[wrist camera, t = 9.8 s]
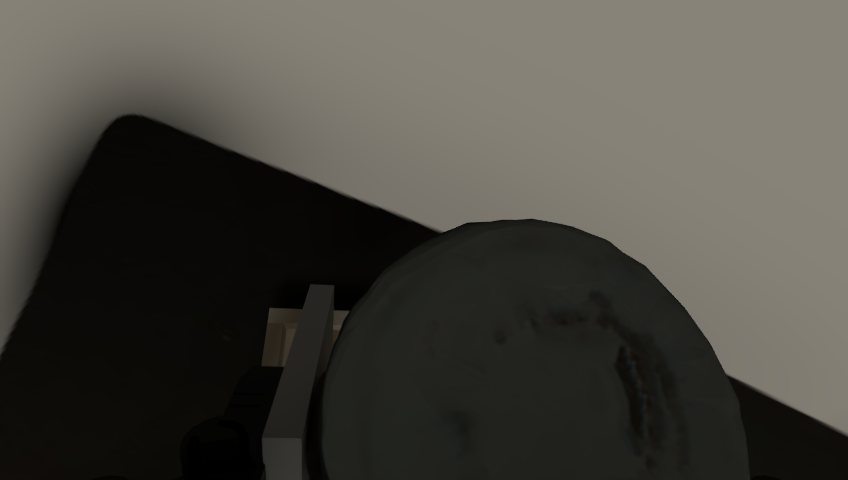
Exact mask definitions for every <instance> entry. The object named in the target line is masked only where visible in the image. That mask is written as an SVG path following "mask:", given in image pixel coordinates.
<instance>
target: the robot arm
mask: <svg viewBox="0 0 848 480" xmlns="http://www.w3.org/2000/svg"><path fill="white" fill-rule="evenodd" d="M333 320H334V285H313V284H310V288H309V291H308V294H307V297H306V300H305V303H304V306H303V310H302V313H301V316H300V319H299V322H298V325H297V328H296V332H295V335H294V338H293V341H292V344H291V347H290V351H289V354H288V357H287V360H286V363H285V366H284V367H278V366H253V367H252V368H251V369H249V370H248V371H247V372H246V373H245V374H244V375H243V376H242V377H241V378H240V379H239V381H238V384H237V386H236V388H235V390H234V394H233V395H232V397H231V399H230V402H229V404H228V407H227V408H226V411H225V413H224V415H223V416H218V417H215V418H211V419H208V420H205V421H203V422H201V423H200V424H198V425H196V426H195V427H193V428H192V429H191V430H190V431H189V432H188V433H187V434H186V435H185V436H184V437H183V440H182V442H181V445H180V456H181V464H182V472H183V476H181V477H179V478H177V479H175V480H309V474H308V470H307V439H308V431H309V423H310V419H311V414H312V409H313V404H314V399H315V394H316V389H317V384H318V381H319V379H320V377H321V376H322V374H323V373H324V372H325V371H326V368H327V365H328V361H329V358H330V354H331V351H332V348H333ZM92 480H128V479H127V478H125V477H121V476H105V477H100V478H95V479H92ZM751 480H780V479H778V478H774V477H769V476H764V475H763V476H755V477H753V478H752V479H751Z"/></svg>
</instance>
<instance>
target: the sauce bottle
mask: <svg viewBox="0 0 848 480" xmlns="http://www.w3.org/2000/svg"><path fill="white" fill-rule="evenodd" d="M307 470H308V474H309V480H750V475H749V463H748V451H747V439H746V431H745V428H744V426H743V423H742V420H741V416H740V406H739V401H738V399H737V396H736V394H735V392H734V390H733V388H732V386H731V383H730V381H729V379H728V377H727V375H726V374H725V372H724V370H723V368H722V366H721V364H720V362H719V360H718V358H717V356H716V354H715V352H714V350H713V348H712V346H711V344H710V343H709V341H708V340H707V338H706V337H705V336H704V335H703V333H702V331H701V330H700V329H699V328H698V326H697V324H696V323H695V322H694V320H693V319H692V317H691V316H690V315H689V313H688V312H687V310H686V309H685V308H684V307H683V306H682V305H681V303H680V302H679V301H678V300H677V299H676V298H675V297H674V296H673V295H672V294H671V293H670V292H669V291H668V290H667V289H666V288H665V287H664V286H663V284H662V283H661V282H660V281H659V280H658V279H657V278H656V277H655V276H654V275H653V274H652V273H651V272H650V271H649V269H648V268H647V267H646V266H644V265H643V264H641V263H639V262H638V261H636V260H635V259H633V258H631V257H630V256H628V255H626V254H625V253H623V252H622V251H620V250H619V249H618V248H617V247H615V246H614V245H613V244H612V243H611V242H609V241H607V240H606V239H603V238H600V237H598V236H595V235H592V234H590V233H587V232H584V231H582V230H580V229H577V228H574V227H571V226H567V225H563V224H558V223H553V222H547V221H542V220H536V219H523V220H498V221H492V222H473V223H466V224H463V225H461V226H458V227H456V228H454V229H451V230H448V231H446V232H443V233H441V234H439V235H437V236H435V237H433V238H431V239H429V240H427V241H426V242H424V243H422V244H420V245H418V246H417V247H415V248H413V249H411V250H410V251H408V252H407V253H405V254H404V255H403V256H401V257H400V258H399V259H397V260H396V261H395V262H393V263H392V264H391V265H390V266H388V267H387V268H386V269H384V270H383V271H382V272H381V273H380V274H379V275H378V277H377V278H376V279H375V281H374V282H373V283H372V284H371V286H370V287H369V288H368V289H367V291H366V292H365V293H364V294H363V295H362V296H361V297H360V299H359V300H358V301H357V302H356V303H355V304H354V305H353V307H352V308H351V310H350V311H349V313H348V314H347V316H346V317H345V319H344V321H343V323H342V326H341V329H340V332H339V335H338V337H337V339H336V341H335V343H334V345H333V348H332V351H331V354H330V358H329V361H328V365H327V368H326V371H325V372H324V373H323V374H322V376H321V377H320V379H319V381H318V384H317V389H316V394H315V399H314V404H313V409H312V414H311V419H310V423H309V431H308V439H307Z"/></svg>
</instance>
